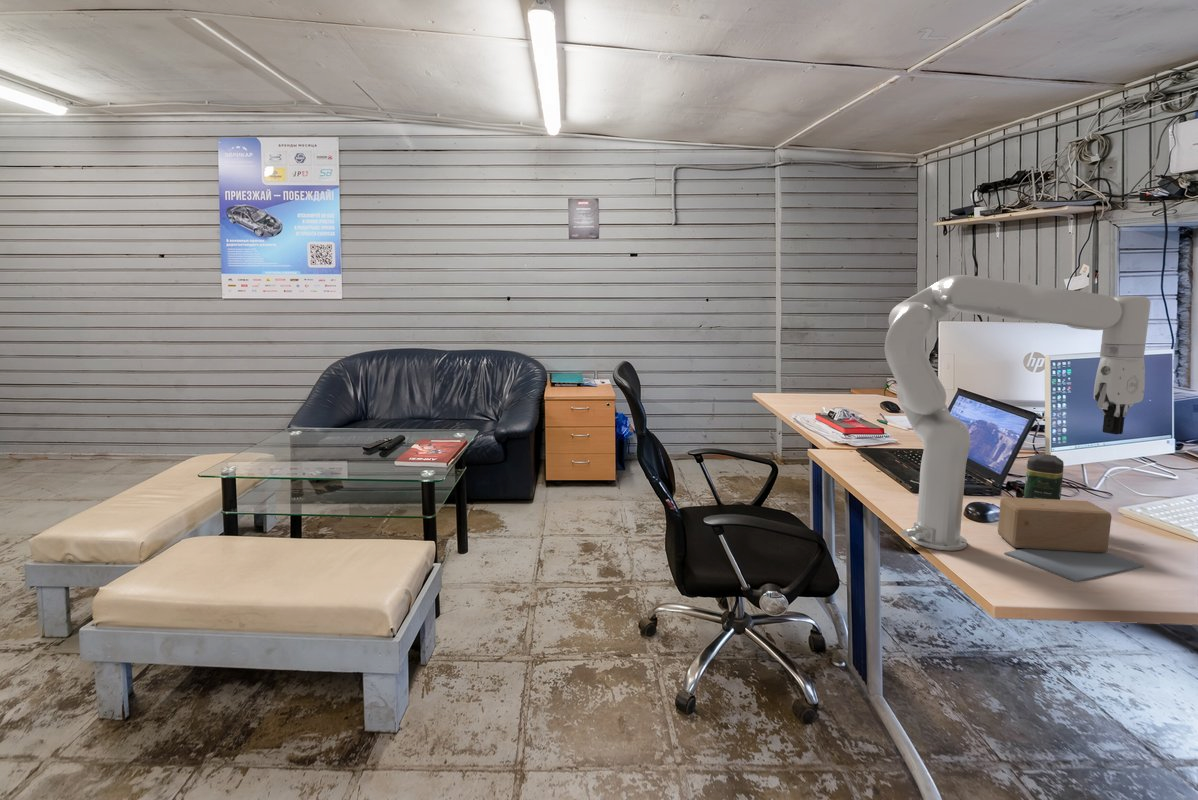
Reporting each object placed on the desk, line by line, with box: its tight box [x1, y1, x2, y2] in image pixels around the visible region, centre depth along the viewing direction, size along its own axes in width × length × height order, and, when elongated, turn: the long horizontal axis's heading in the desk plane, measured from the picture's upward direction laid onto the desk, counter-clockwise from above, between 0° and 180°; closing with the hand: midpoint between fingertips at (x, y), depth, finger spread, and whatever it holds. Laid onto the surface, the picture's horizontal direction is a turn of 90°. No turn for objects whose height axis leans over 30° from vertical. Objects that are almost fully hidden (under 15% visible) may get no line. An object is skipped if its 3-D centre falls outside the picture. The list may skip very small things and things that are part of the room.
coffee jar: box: [1023, 453, 1064, 500], centre depth 164 cm, size 10×8×19 cm
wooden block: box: [997, 496, 1112, 553], centre depth 150 cm, size 10×10×20 cm
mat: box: [1004, 548, 1145, 583], centre depth 142 cm, size 22×16×1 cm
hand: (1112, 433), depth 141 cm, fingers closed
